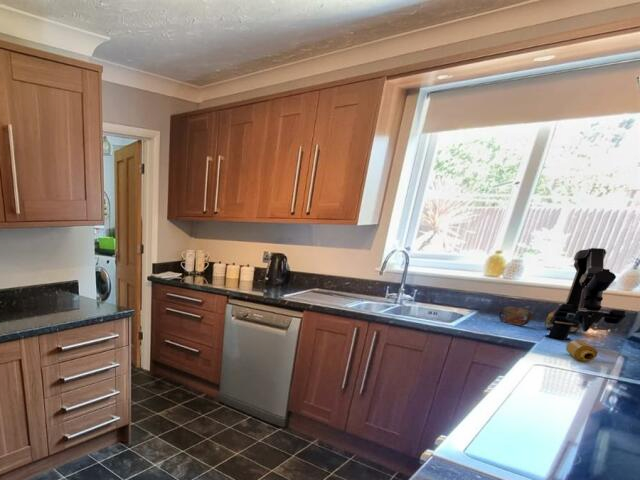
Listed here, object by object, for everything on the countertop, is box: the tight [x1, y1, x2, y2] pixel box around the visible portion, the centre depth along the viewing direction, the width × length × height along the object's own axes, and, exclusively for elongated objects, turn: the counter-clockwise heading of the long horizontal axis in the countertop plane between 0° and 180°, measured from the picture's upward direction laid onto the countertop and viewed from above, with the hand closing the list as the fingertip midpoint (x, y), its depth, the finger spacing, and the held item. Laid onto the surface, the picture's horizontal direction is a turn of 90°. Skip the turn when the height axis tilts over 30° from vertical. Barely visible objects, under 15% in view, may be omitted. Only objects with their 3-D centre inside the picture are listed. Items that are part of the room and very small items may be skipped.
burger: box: [544, 310, 582, 333], centre depth 208 cm, size 13×14×10 cm
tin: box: [498, 305, 533, 326], centre depth 218 cm, size 15×3×8 cm, turn 6°
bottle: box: [565, 339, 598, 363], centre depth 162 cm, size 6×6×15 cm
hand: (585, 331), depth 163 cm, fingers closed
